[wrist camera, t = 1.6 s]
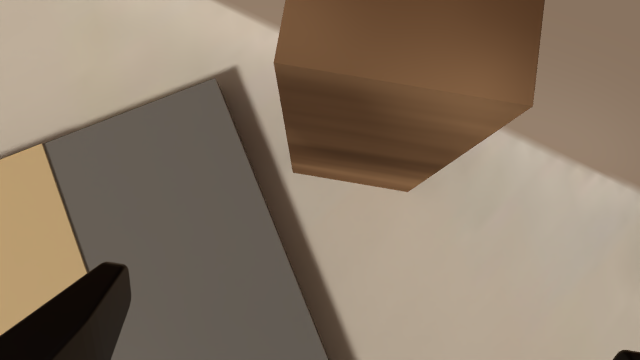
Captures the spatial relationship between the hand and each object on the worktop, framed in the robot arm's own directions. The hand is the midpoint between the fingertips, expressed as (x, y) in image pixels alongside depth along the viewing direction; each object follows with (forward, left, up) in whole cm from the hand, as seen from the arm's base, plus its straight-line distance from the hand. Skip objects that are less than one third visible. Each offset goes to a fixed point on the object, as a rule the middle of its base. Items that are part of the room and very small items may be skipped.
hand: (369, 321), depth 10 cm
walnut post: (+6, -4, -13) cm, 15 cm away
